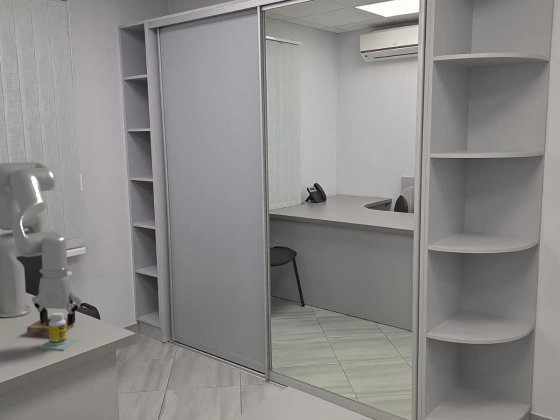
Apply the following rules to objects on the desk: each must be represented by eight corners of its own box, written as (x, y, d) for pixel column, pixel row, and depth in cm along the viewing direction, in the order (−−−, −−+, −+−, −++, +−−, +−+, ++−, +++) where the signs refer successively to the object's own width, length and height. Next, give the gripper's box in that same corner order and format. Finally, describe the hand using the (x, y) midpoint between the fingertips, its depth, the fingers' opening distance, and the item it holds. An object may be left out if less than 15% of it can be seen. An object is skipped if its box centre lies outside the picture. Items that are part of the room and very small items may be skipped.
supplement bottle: (60, 346, 180) (59, 317, 179) (46, 344, 181) (44, 316, 180) (70, 340, 185) (68, 312, 184) (55, 339, 186) (54, 311, 185)
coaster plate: (38, 348, 179) (38, 347, 179) (53, 338, 188) (53, 337, 188) (63, 350, 178) (63, 349, 178) (78, 340, 187) (78, 338, 187)
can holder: (27, 335, 191) (27, 327, 190) (45, 324, 202) (45, 316, 201) (56, 337, 189) (56, 329, 189) (73, 326, 200) (73, 318, 199)
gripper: (24, 274, 177) (27, 325, 180) (73, 277, 175) (76, 329, 177) (37, 269, 185) (40, 318, 187) (85, 271, 182) (87, 321, 184)
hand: (57, 323), depth 182 cm, fingers open, 9 cm apart
